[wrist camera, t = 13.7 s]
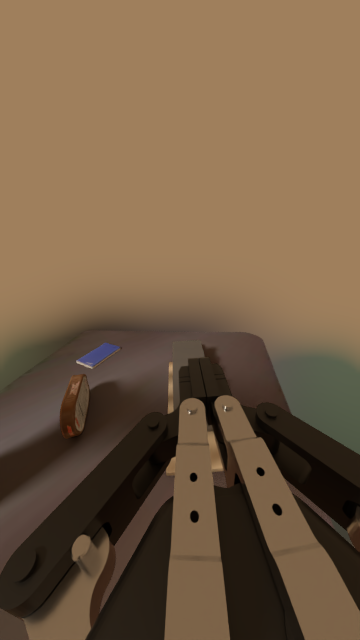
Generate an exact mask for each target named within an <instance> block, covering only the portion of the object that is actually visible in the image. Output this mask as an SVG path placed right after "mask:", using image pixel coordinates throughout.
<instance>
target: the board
mask: <svg viewBox="0 0 360 640" xmlns="http://www.w3.org/2000/svg"><path fill="white" fill-rule="evenodd" d="M172 363H173V362H169V391H168V414H169V413H171V412H173V411H174V410H173V377H172V376H173V365H172ZM207 434H208V443H209V447H210V457H211V466H212V472H217V471H224V470H223V466H222V463H221V459H220V456H219V452H218V449H217V445H216V442H215V438H214V432H213V431H211V432H207ZM175 463H176V457H174V458H171V462H170V464H169V465H168V467H167V468H166V474H167V476H170V475H175Z"/></svg>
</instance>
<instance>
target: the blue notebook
mask: <svg viewBox="0 0 360 640" xmlns="http://www.w3.org/2000/svg"><path fill="white" fill-rule="evenodd" d="M119 350H120V347H118V346H115V345H111V344H108V343H104V344H103V345H101V346H100V347H98V348H96V349H95V350H93V351H91V352H90V353H88V354H87V355H85V356H83V357H82V358H80V359H78V360H77V361H76V362H77V363H78V364H81V365H84V366H86V367H89V368H91V369H93V368H95V367H96V366H98V365H99V364H100V363H102V362H103V361H105V360H106V359H107V358H109V357H110V356H112V355H113V354H114V353H116V352H117V351H119Z"/></svg>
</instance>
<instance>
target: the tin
mask: <svg viewBox="0 0 360 640" xmlns="http://www.w3.org/2000/svg"><path fill="white" fill-rule="evenodd" d="M89 399H90V389H89V385H88V381H87V376H86V375H85V374H81V375H73V376H72V377H71V380H70V382H69V385H68V388H67V391H66V393H65V396H64V399H63V401H62V404H61V409H60V427H61V432H62V435H63V437H64V438H65V439H68V438H70V437H74V436H77V435H80V434H81V433H82V431H83V429H84V425H85V420H86V416H87V411H88V406H89Z"/></svg>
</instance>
